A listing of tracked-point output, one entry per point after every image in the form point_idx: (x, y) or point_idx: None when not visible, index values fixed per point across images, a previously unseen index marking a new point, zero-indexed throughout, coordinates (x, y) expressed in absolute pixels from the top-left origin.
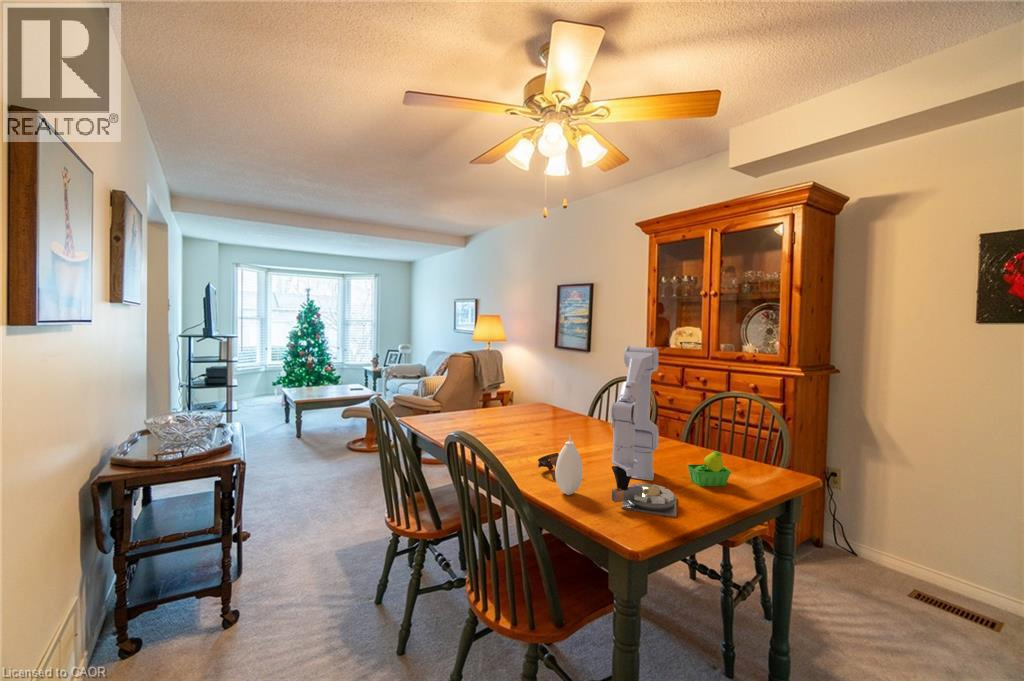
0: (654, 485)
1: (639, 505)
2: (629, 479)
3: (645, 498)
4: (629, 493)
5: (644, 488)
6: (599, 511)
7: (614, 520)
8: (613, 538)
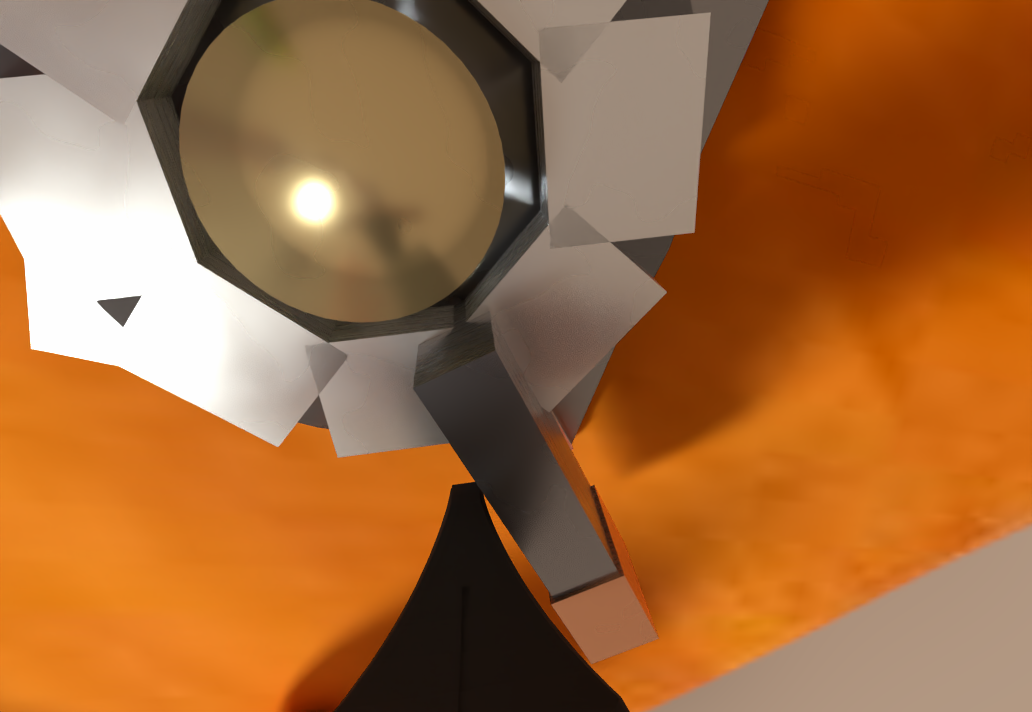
0: (211, 63)
1: None
2: (549, 621)
3: (652, 305)
4: (575, 482)
5: (424, 294)
6: None
7: (765, 507)
8: (996, 529)
